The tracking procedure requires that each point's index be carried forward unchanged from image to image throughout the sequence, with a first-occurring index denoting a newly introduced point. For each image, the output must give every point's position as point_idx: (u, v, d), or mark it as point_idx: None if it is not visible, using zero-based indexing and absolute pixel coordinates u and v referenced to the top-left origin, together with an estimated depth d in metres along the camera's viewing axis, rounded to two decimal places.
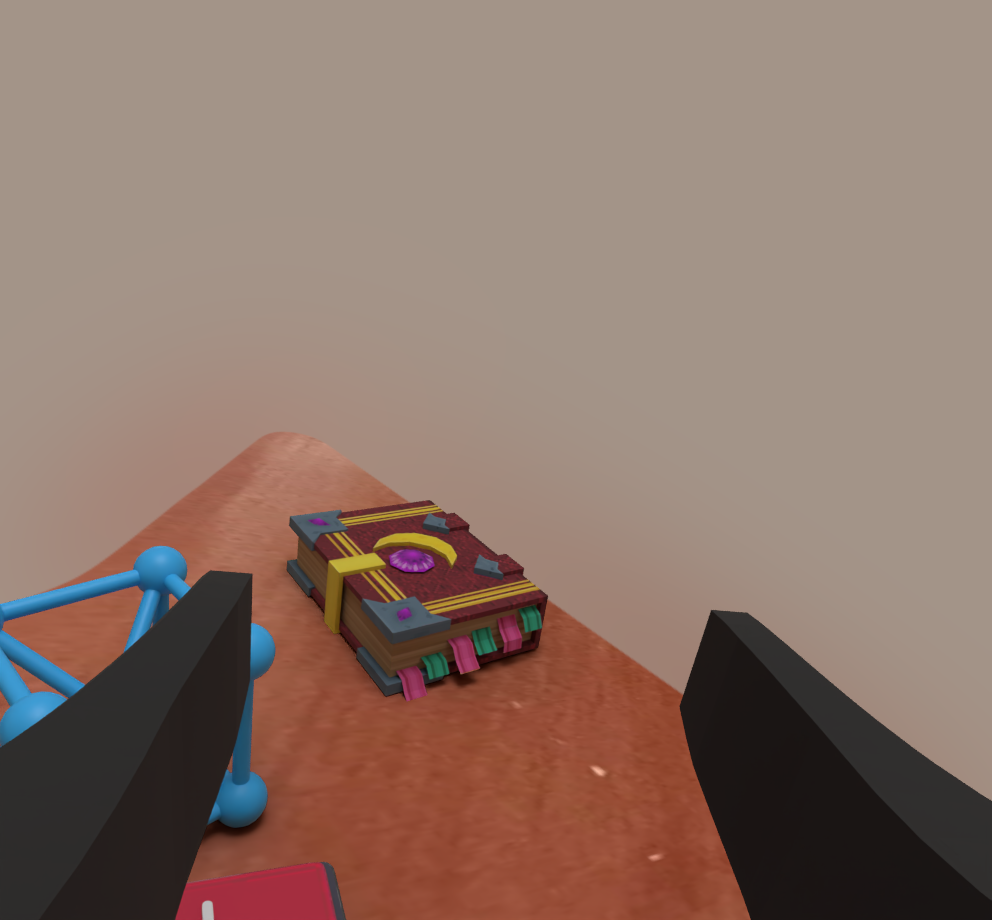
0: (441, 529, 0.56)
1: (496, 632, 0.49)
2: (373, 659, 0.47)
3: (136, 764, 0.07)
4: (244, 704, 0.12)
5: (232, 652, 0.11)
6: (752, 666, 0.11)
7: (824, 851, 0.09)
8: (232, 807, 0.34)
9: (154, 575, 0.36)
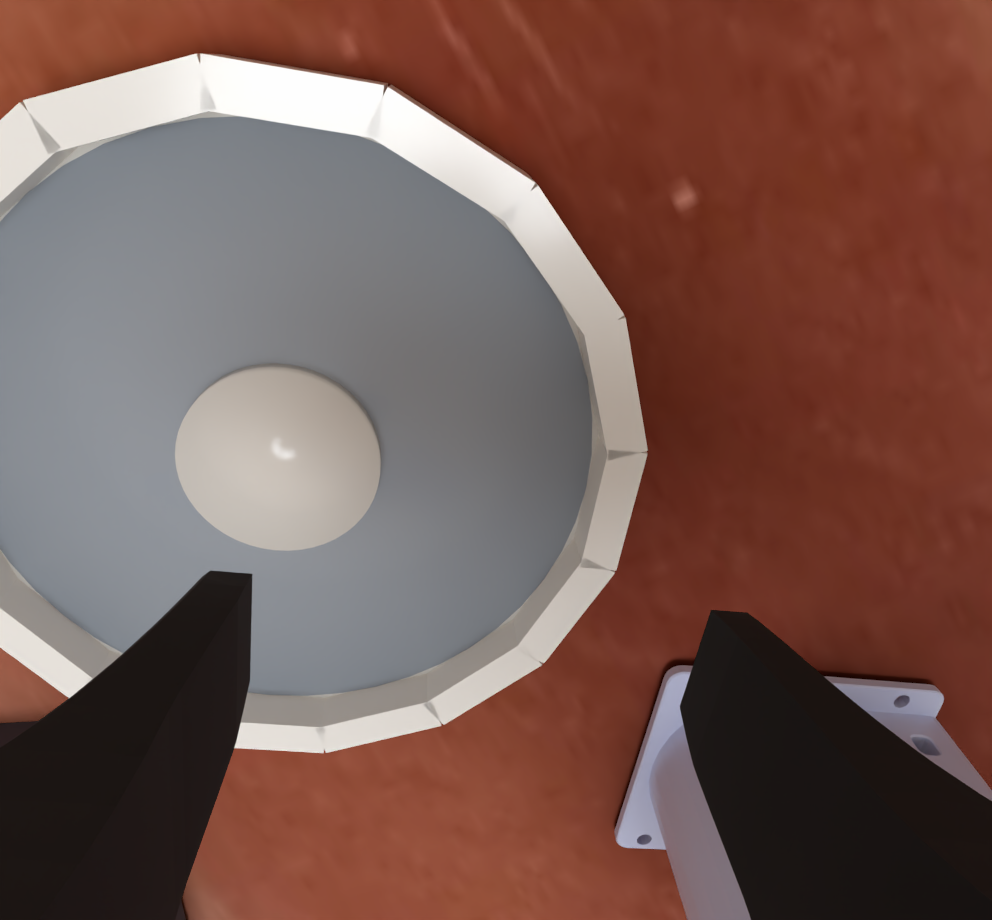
0: None
1: None
2: None
3: (136, 764, 0.07)
4: (244, 704, 0.12)
5: (232, 652, 0.11)
6: (752, 665, 0.11)
7: (824, 851, 0.09)
8: None
9: None
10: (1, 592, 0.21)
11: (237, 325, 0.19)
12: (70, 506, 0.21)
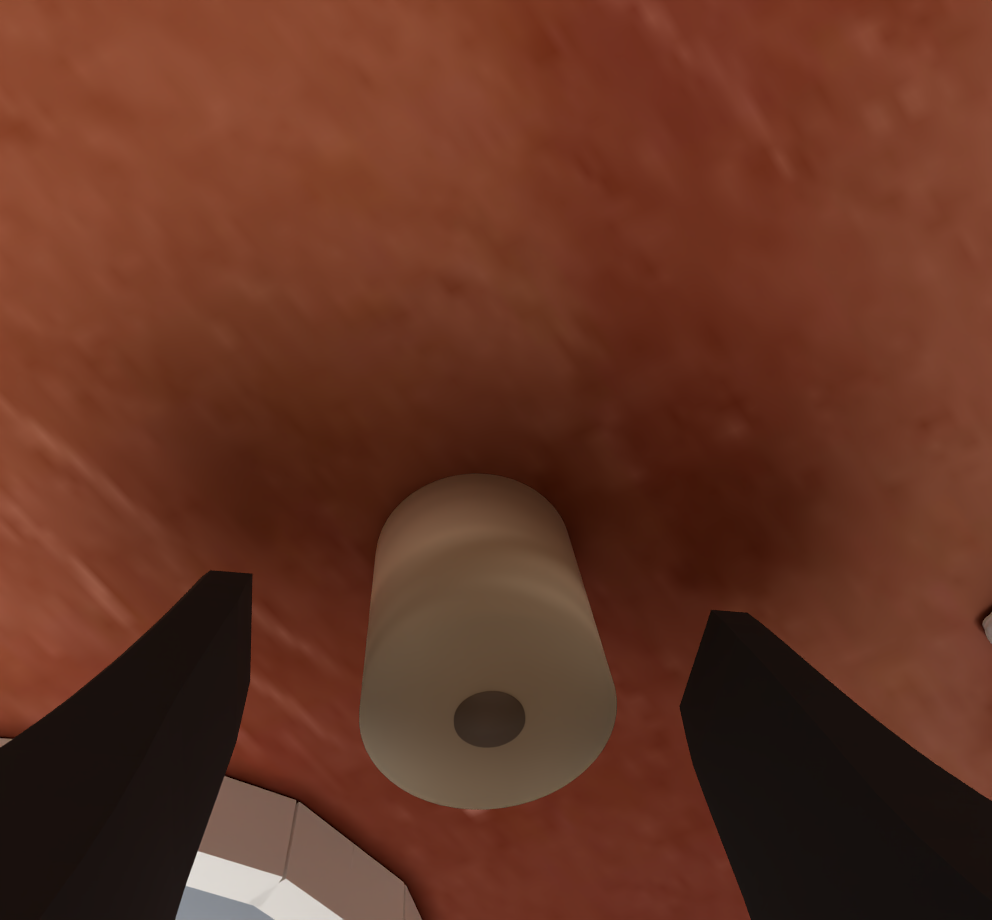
0: None
1: None
2: None
3: (136, 763, 0.07)
4: (244, 704, 0.12)
5: (232, 652, 0.11)
6: (752, 666, 0.11)
7: (824, 851, 0.09)
8: None
9: None
10: None
11: None
12: None
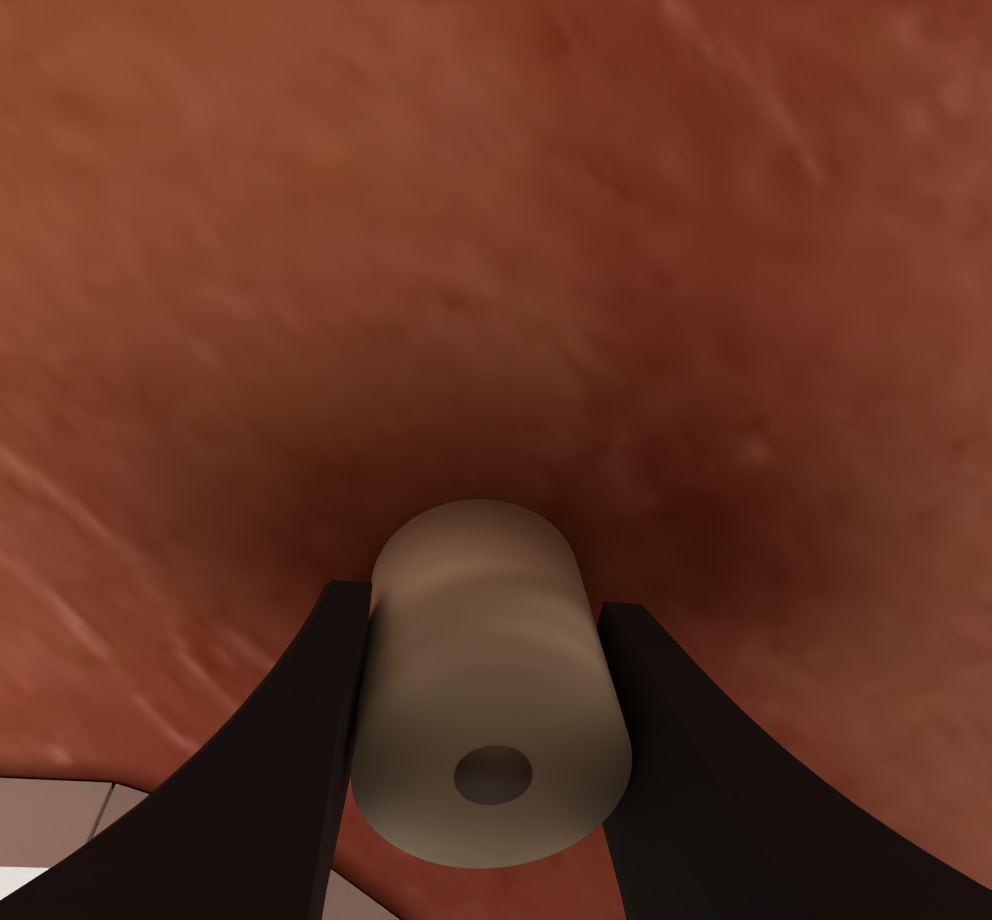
0: None
1: None
2: None
3: (326, 772, 0.08)
4: None
5: (362, 660, 0.11)
6: (631, 656, 0.11)
7: (680, 846, 0.09)
8: None
9: None
10: None
11: None
12: None
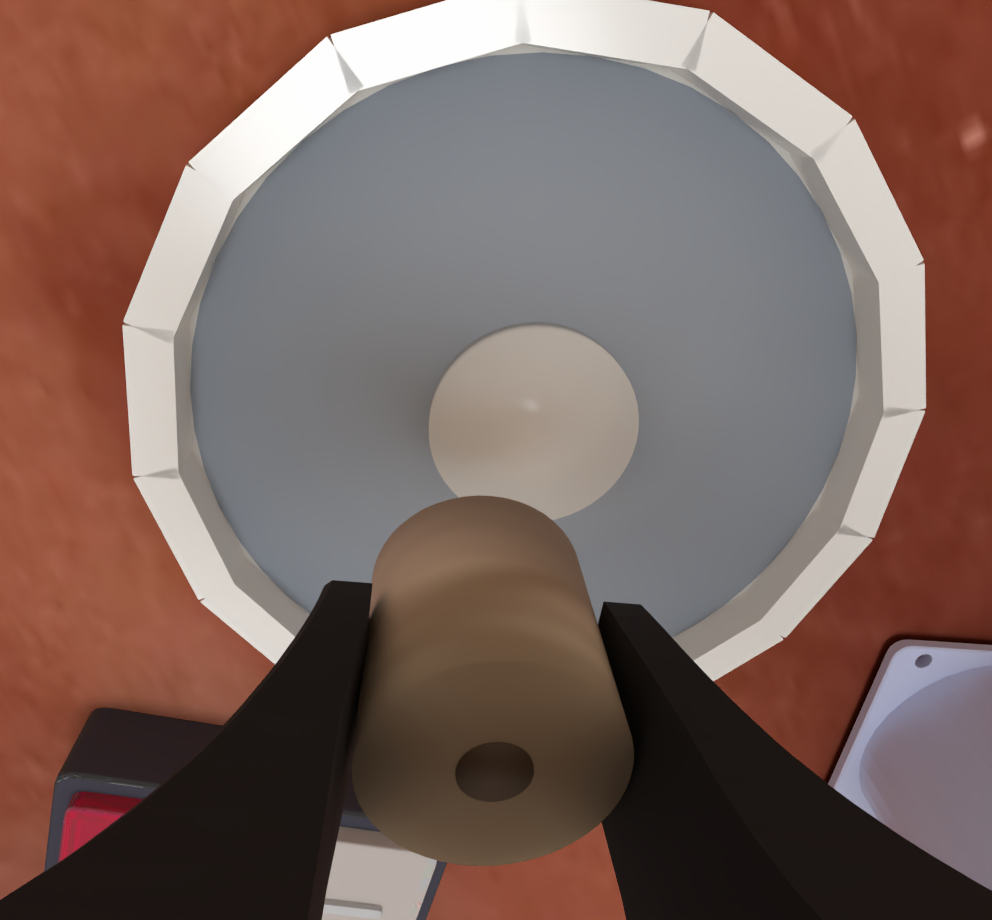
0: None
1: None
2: None
3: (326, 772, 0.08)
4: None
5: (362, 660, 0.11)
6: (631, 657, 0.11)
7: (680, 846, 0.09)
8: None
9: None
10: (236, 571, 0.20)
11: (502, 281, 0.18)
12: (307, 480, 0.20)
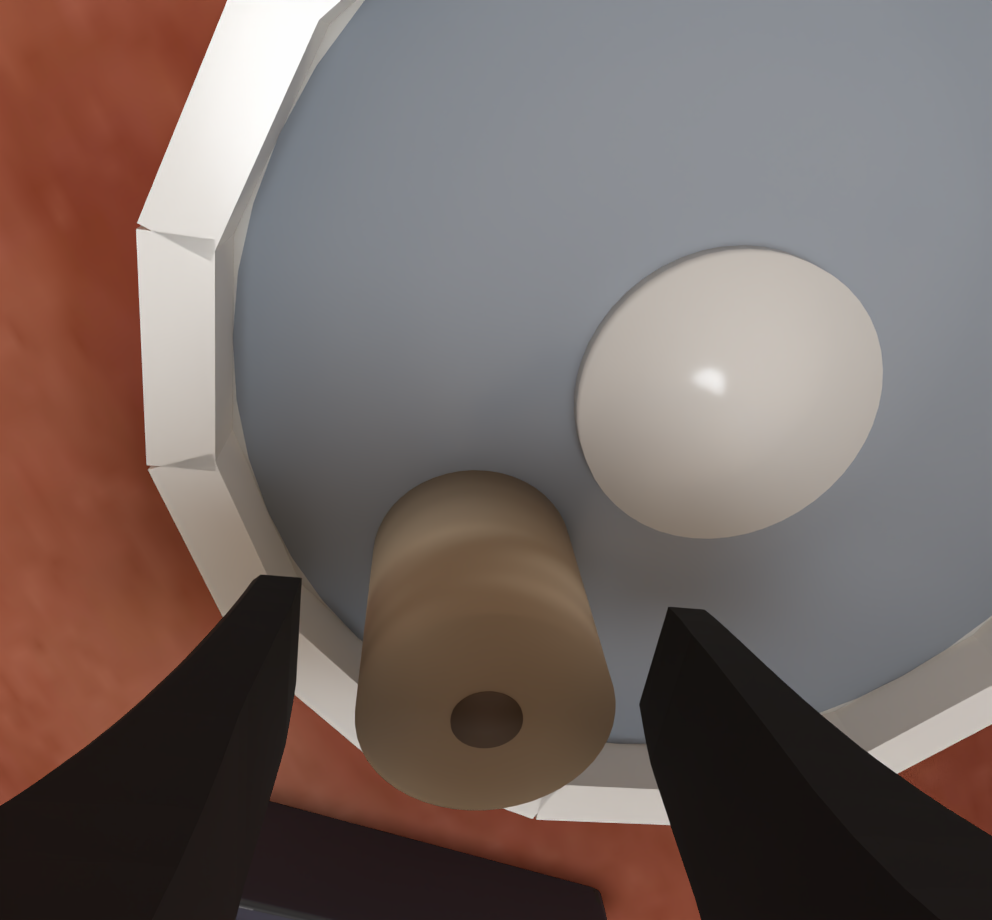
0: None
1: None
2: None
3: (215, 767, 0.07)
4: None
5: (286, 655, 0.11)
6: (704, 662, 0.11)
7: (767, 849, 0.09)
8: None
9: None
10: None
11: (703, 181, 0.12)
12: (394, 475, 0.14)
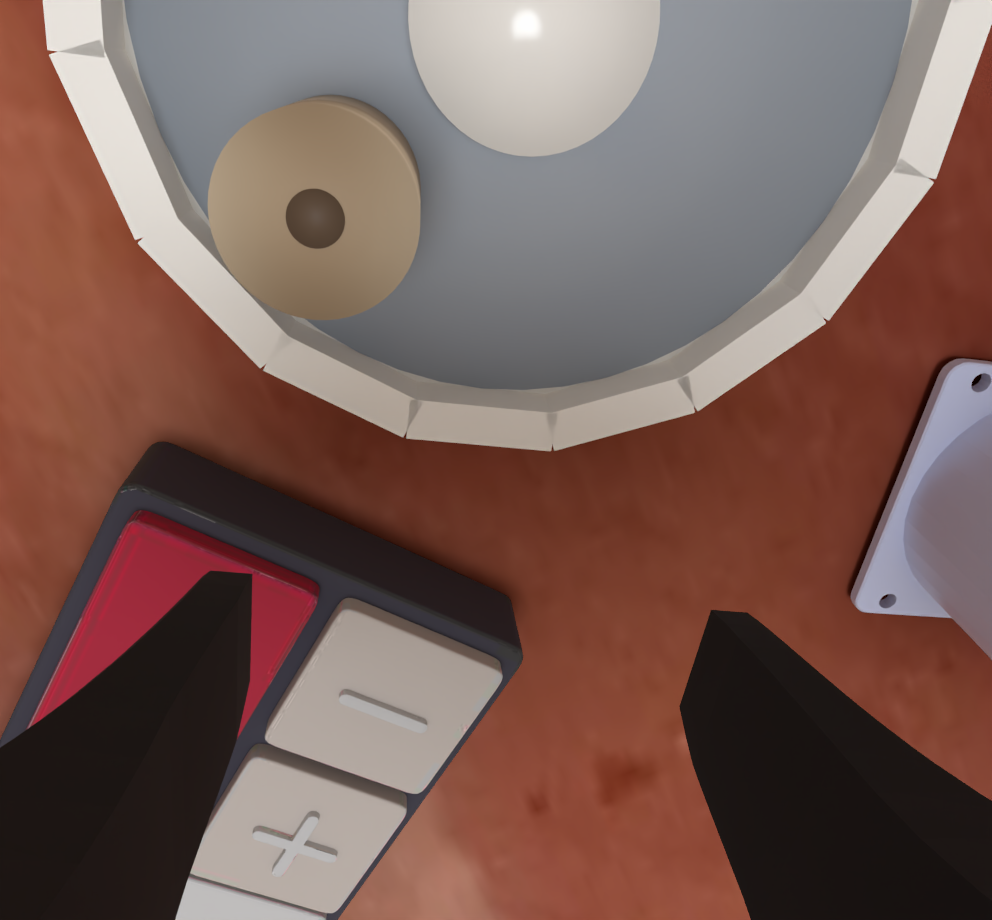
0: None
1: None
2: None
3: (136, 764, 0.07)
4: (244, 704, 0.12)
5: (232, 652, 0.11)
6: (752, 665, 0.11)
7: (824, 851, 0.09)
8: None
9: None
10: (180, 210, 0.17)
11: None
12: (264, 99, 0.17)
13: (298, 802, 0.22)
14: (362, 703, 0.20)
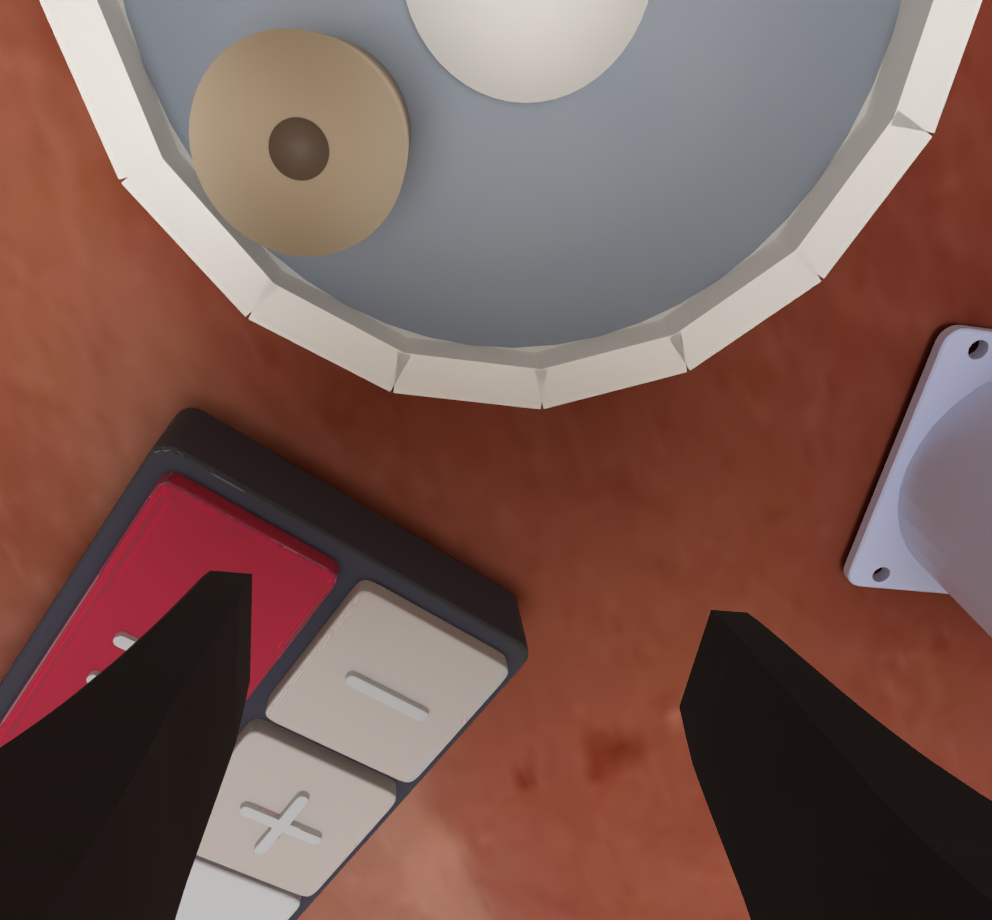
0: None
1: None
2: None
3: (136, 764, 0.07)
4: (244, 704, 0.12)
5: (232, 652, 0.11)
6: (753, 665, 0.11)
7: (824, 851, 0.09)
8: None
9: None
10: (166, 150, 0.16)
11: None
12: None
13: (289, 781, 0.22)
14: (368, 686, 0.20)
